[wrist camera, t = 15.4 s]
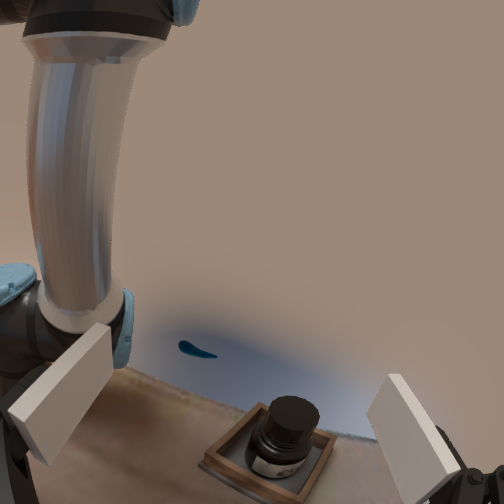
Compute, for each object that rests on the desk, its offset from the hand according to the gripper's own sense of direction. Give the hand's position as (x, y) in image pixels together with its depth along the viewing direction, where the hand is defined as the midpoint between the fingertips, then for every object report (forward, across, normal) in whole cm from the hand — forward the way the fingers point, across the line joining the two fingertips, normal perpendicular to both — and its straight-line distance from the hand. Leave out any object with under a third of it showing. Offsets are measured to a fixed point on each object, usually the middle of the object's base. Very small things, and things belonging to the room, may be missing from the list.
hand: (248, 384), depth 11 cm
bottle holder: (+16, +9, -30) cm, 35 cm away
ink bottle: (+16, +9, -29) cm, 34 cm away
